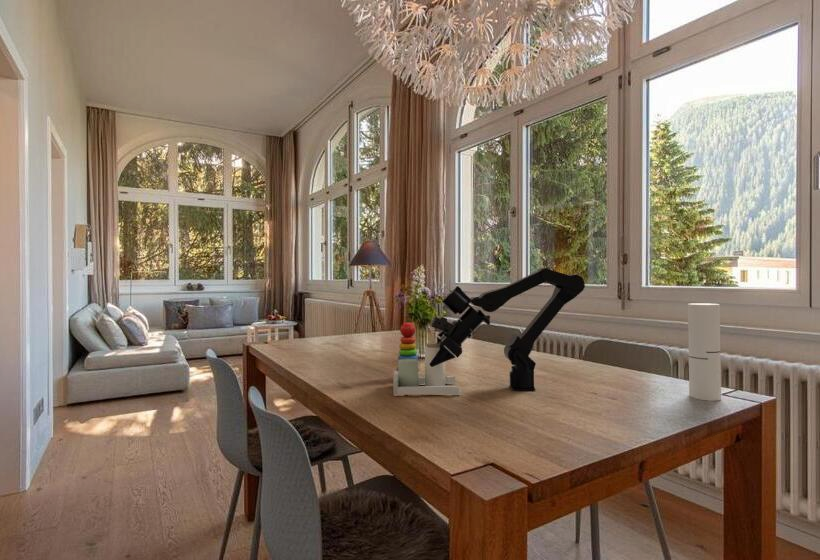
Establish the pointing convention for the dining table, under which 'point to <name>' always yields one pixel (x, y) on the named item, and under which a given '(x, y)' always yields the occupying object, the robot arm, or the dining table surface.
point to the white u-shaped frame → (425, 387)
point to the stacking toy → (407, 343)
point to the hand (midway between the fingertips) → (429, 363)
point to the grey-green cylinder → (408, 372)
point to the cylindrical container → (704, 351)
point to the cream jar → (435, 373)
